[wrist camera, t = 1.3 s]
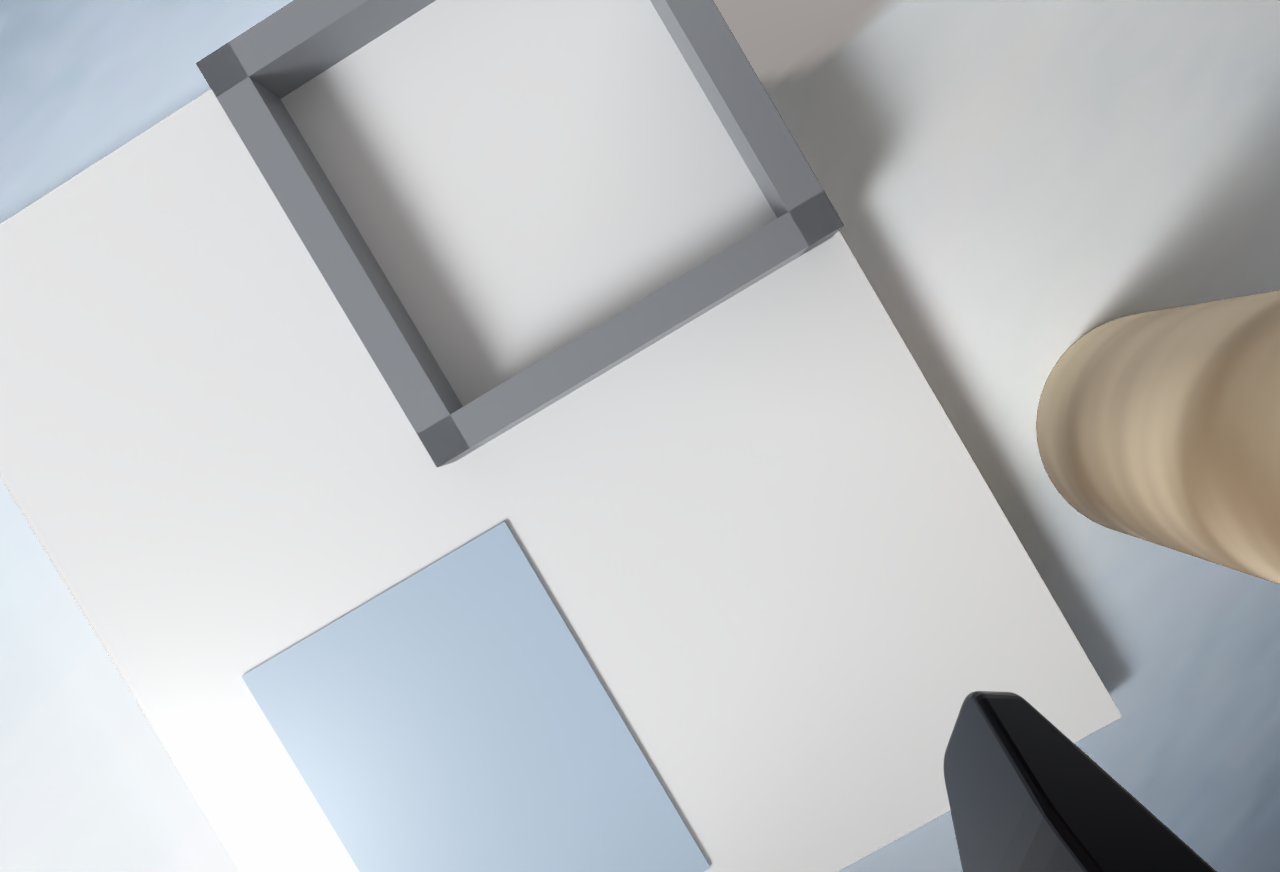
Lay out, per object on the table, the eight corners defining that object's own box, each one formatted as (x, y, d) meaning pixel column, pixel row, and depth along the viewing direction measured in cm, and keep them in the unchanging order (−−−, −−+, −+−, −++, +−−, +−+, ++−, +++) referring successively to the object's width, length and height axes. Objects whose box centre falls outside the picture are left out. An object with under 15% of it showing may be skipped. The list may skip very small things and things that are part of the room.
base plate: (1102, 701, 21) (1156, 743, 19) (401, 1084, 23) (366, 1170, 20) (612, -140, 21) (602, -210, 19) (-75, 298, 22) (-171, 287, 20)
